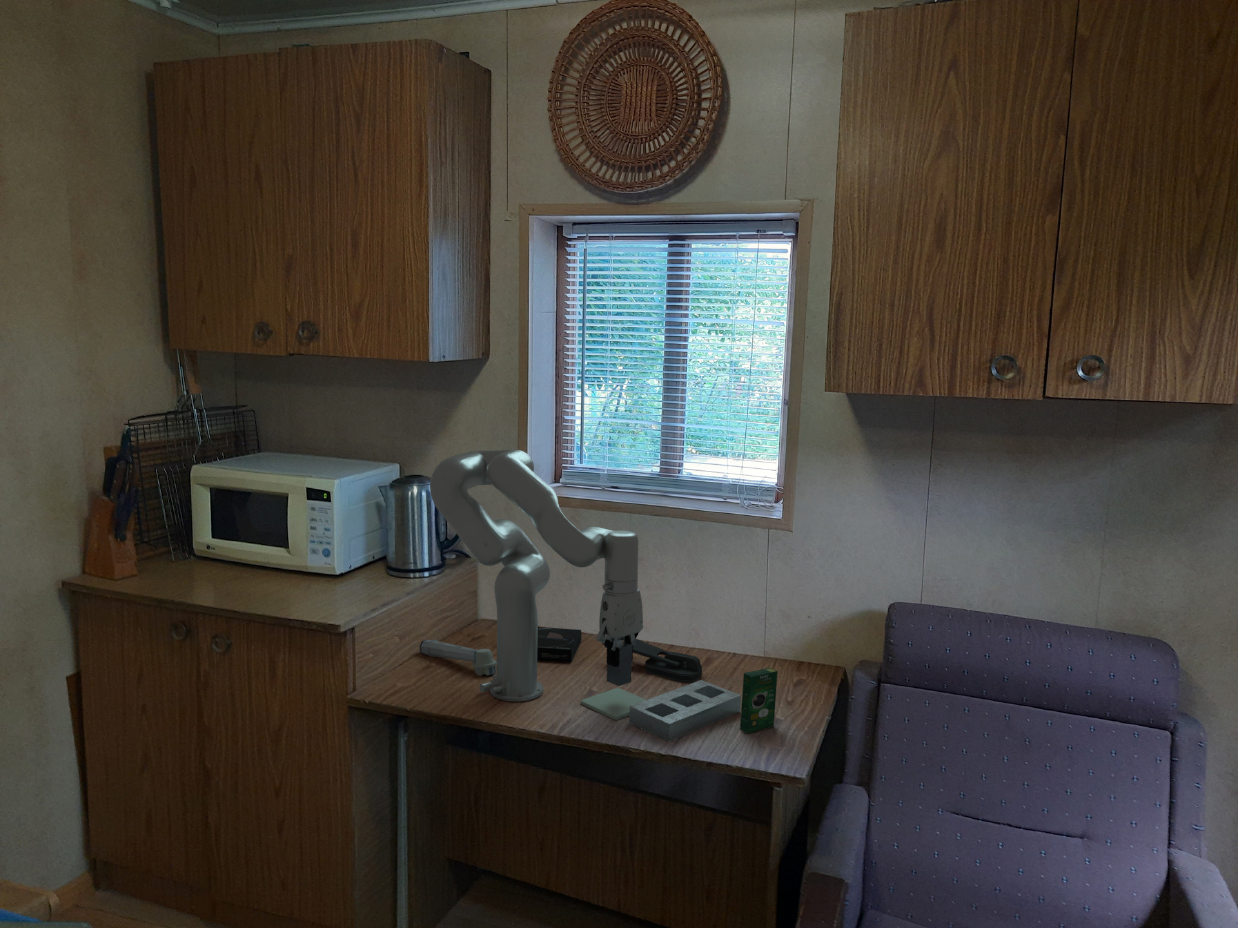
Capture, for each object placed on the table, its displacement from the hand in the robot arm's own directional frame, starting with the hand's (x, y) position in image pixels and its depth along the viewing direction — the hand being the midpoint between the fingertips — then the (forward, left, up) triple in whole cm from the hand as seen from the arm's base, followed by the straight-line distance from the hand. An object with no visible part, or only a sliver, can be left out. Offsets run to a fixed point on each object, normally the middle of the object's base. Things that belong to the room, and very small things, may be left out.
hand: (619, 661), depth 210 cm
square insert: (0, 0, -5) cm, 5 cm away
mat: (0, 0, -10) cm, 10 cm away
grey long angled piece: (-13, +46, -11) cm, 49 cm away
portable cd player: (+11, +39, -11) cm, 42 cm away
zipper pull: (+23, +10, -11) cm, 28 cm away
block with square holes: (+7, -15, -10) cm, 19 cm away
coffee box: (+15, -29, -11) cm, 34 cm away
